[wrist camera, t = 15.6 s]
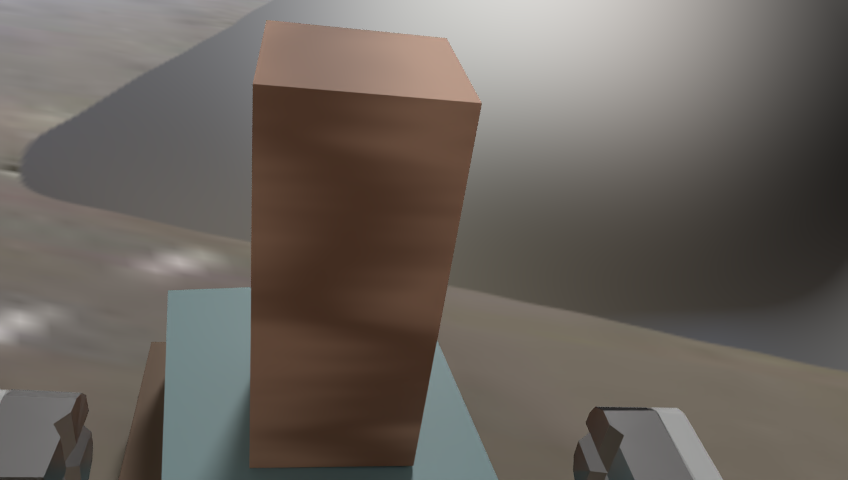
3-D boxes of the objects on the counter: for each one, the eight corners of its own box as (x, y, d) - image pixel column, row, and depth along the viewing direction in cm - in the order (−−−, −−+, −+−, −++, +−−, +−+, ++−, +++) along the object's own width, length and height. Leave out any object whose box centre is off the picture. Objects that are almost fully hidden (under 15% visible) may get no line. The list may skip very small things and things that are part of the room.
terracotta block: (397, 358, 26) (446, 38, 20) (413, 465, 22) (481, 103, 16) (260, 356, 25) (266, 20, 19) (249, 468, 21) (253, 83, 15)
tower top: (398, 350, 33) (411, 281, 31) (509, 653, 21) (540, 576, 19) (171, 366, 30) (167, 290, 27) (162, 730, 18) (155, 648, 16)
